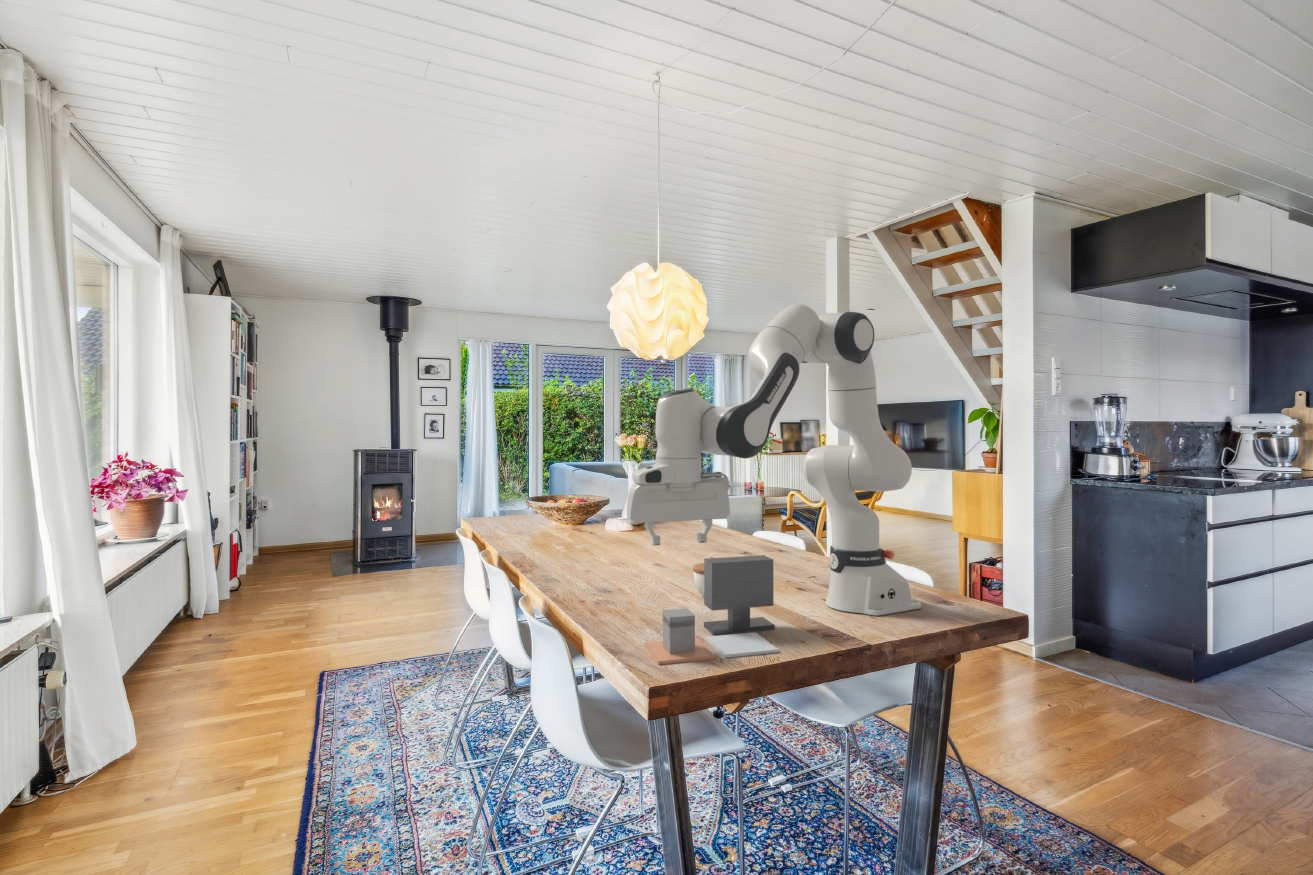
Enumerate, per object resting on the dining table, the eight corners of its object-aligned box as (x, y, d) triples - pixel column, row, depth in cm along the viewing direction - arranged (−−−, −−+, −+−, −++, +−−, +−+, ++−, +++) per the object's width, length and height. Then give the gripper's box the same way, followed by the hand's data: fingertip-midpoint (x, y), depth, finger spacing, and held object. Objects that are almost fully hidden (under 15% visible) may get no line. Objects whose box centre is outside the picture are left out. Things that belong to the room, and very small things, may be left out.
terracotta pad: (696, 640, 134) (696, 637, 134) (714, 658, 124) (714, 655, 124) (644, 645, 131) (644, 642, 131) (658, 664, 121) (658, 661, 121)
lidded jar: (685, 597, 168) (685, 561, 168) (706, 589, 177) (705, 554, 177) (722, 603, 162) (722, 565, 162) (741, 594, 171) (741, 558, 171)
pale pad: (755, 635, 137) (755, 632, 137) (778, 652, 127) (778, 649, 127) (705, 639, 135) (705, 636, 135) (724, 657, 124) (724, 654, 124)
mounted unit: (763, 621, 147) (762, 554, 147) (774, 629, 141) (774, 559, 141) (703, 626, 144) (703, 558, 143) (713, 634, 138) (712, 563, 137)
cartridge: (687, 643, 131) (686, 608, 130) (694, 651, 126) (694, 615, 126) (662, 645, 129) (662, 610, 129) (669, 654, 124) (669, 617, 124)
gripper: (723, 470, 133) (723, 538, 133) (624, 472, 128) (625, 543, 128) (734, 472, 127) (735, 543, 127) (631, 475, 122) (632, 549, 122)
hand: (679, 543), depth 128 cm, fingers open, 8 cm apart
